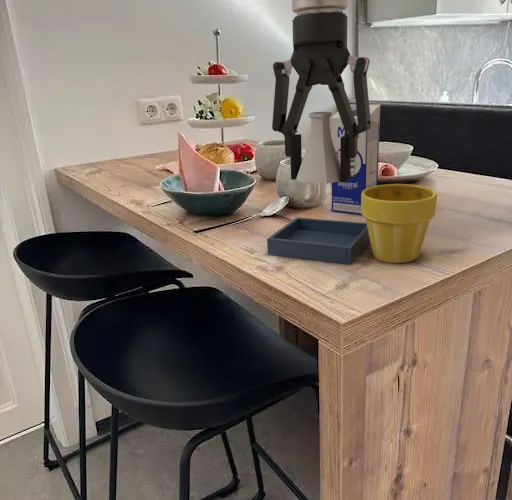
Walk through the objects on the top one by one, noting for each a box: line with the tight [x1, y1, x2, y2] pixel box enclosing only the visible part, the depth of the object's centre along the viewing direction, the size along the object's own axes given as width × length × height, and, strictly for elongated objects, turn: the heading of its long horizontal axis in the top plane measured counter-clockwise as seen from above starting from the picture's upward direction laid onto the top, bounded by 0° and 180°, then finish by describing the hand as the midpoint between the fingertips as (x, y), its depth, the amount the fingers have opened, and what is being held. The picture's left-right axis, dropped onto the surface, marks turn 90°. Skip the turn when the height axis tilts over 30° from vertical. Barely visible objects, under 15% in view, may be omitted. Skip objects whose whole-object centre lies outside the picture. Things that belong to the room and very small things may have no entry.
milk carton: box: [330, 103, 382, 216], centre depth 96 cm, size 7×7×20 cm
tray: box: [266, 216, 370, 265], centre depth 79 cm, size 13×12×3 cm
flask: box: [295, 111, 340, 185], centre depth 75 cm, size 7×7×10 cm
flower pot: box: [361, 183, 438, 264], centre depth 73 cm, size 10×10×10 cm
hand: (320, 178), depth 76 cm, fingers closed on flask, 7 cm apart
